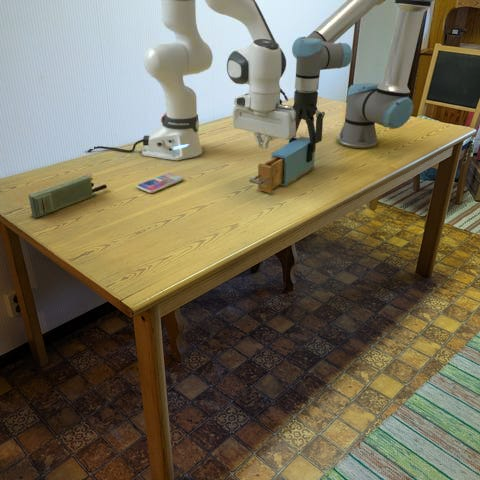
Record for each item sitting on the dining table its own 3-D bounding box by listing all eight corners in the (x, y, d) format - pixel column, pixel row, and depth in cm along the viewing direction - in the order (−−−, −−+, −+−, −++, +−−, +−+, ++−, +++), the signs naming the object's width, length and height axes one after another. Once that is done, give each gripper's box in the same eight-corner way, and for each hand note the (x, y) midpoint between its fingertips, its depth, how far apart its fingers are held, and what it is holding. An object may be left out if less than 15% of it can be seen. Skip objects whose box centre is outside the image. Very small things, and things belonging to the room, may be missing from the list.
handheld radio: (30, 215, 144) (102, 188, 161) (37, 219, 142) (109, 191, 159) (26, 193, 140) (100, 168, 157) (33, 197, 138) (107, 171, 155)
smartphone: (184, 177, 167) (150, 191, 157) (184, 180, 167) (151, 194, 157) (168, 171, 171) (134, 185, 161) (168, 174, 171) (135, 188, 161)
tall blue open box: (285, 186, 164) (286, 156, 159) (270, 182, 167) (271, 152, 161) (313, 167, 177) (315, 139, 172) (299, 164, 180) (301, 136, 175)
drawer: (261, 199, 154) (261, 173, 150) (248, 195, 157) (248, 169, 152) (298, 174, 170) (300, 150, 166) (287, 171, 173) (288, 147, 168)
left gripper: (301, 104, 141) (298, 152, 148) (242, 93, 151) (241, 138, 158) (290, 109, 136) (287, 158, 143) (229, 97, 147) (229, 143, 153)
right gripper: (338, 92, 160) (330, 162, 171) (287, 84, 169) (283, 150, 181) (327, 97, 155) (320, 168, 166) (275, 88, 164) (271, 156, 175)
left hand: (262, 147), depth 151 cm, fingers closed
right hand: (301, 158), depth 173 cm, fingers closed on tall blue open box, 6 cm apart
